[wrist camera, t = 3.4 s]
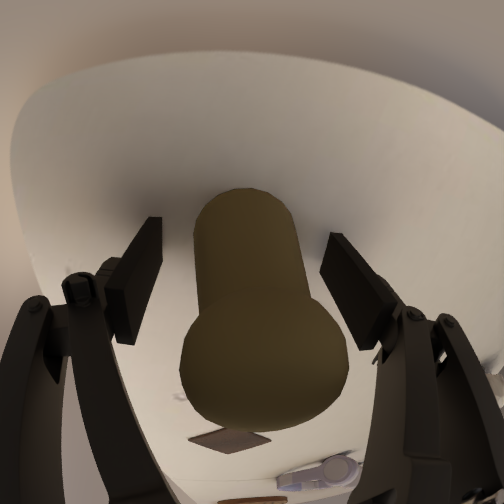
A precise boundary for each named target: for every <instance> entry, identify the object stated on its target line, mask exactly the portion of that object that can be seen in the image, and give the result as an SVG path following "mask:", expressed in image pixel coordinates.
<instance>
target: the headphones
mask: <svg viewBox="0 0 504 504" xmlns="http://www.w3.org/2000/svg"><path fill="white" fill-rule="evenodd" d="M362 468H363V467H361V466H359V465H358V463H357V462H356V461H355V460H354V459H351V458H349V457H346V456H344V455H334V456H332V457H329V458H328V459H326V460H325V461H324V462H323V463H322V464H321V465H320V466H318V467H315V468H311V469H306V470H301V471H297V472H292V473H288V474H284V475H282V476H279V477H278V478H277V489H278V490H281V491H307V490H317V489H324V488H330V487H341V486H342V487H343V488H347V489H353V488H355V487H356V486H357V484H358V483H359V480H360V477H361V472H362ZM311 480H317V481H311ZM306 481H307V482H306Z"/></svg>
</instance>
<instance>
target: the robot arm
mask: <svg viewBox="0 0 504 504" xmlns="http://www.w3.org/2000/svg"><path fill="white" fill-rule="evenodd" d="M162 262H163V254H162V217H151V216H149V217H148V218H147V220H146V221H145V223H144V224H143V225H142V227H141V228H140V230H139V231H138V233H137V234H136V236H135V237H134V239H133V240H132V242H131V243H130V245H129V247H128V248H127V250H126V251H125V253H124V254H123V256H122V258H118V257H111V258H109V259H108V260H106V261H105V262H103V264H102V265H101V267H100V268H99V270H98V271H97V273H96V275H95V276H94V275H92V274H91V273H88V272H77V273H74V274H71V275H69V276H68V277H66V278H65V279H64V280H63V282H62V285H61V286H62V289H63V293H64V296H65V300H66V303H67V304H64V305H54V306H51V305H50V302H49V300H48V298H47V297H45V296H41V295H38V296H32V297H30V298H28V299H27V300H26V301H25V302H24V303H23V305H22V306H21V308H20V310H19V313H18V315H17V318H16V320H15V322H14V325H13V327H12V330H11V333H10V335H9V338H8V340H7V343H6V346H5V349H4V352H3V355H2V358H1V362H0V504H65V498H64V489H63V478H62V459H61V427H62V407H63V395H64V385H65V377H66V369H67V362H68V356H71V359H72V366H73V373H74V378H75V385H76V390H77V395H78V400H79V404H80V409H81V414H82V418H83V422H84V425H85V429H86V433H87V436H88V440H89V443H90V446H91V449H92V453H93V455H94V459H95V461H96V464H97V467H98V470H99V472H100V475H101V478H102V480H103V482H104V485H105V487H106V490H107V492H108V495H109V504H181V503H180V502H179V500H178V499H177V497H176V495H175V494H174V492H173V490H172V489H171V487H170V485H169V483H168V482H167V480H166V478H165V476H164V475H163V473H162V471H161V469H160V467H159V465H158V463H157V461H156V459H155V457H154V455H153V453H152V451H151V449H150V447H149V445H148V442H147V440H146V438H145V436H144V434H143V431H142V429H141V427H140V424H139V422H138V419H137V417H136V414H135V412H134V409H133V407H132V404H131V402H130V399H129V396H128V393H127V391H126V388H125V385H124V382H123V379H122V376H121V373H120V370H119V366H118V363H117V360H116V356H115V353H114V349H113V346H112V343H111V341H112V338H113V335H114V334H115V338H116V341H117V343H120V344H127V345H135V342H136V339H137V335H138V332H139V329H140V326H141V323H142V319H143V316H144V313H145V310H146V307H147V304H148V301H149V298H150V295H151V292H152V290H153V287H154V284H155V281H156V278H157V275H158V273H159V270H160V267H161V265H162ZM319 273H320V275H321V276H322V278H323V280H324V282H325V284H326V286H327V288H328V290H329V291H330V293H331V295H332V297H333V299H334V301H335V303H336V305H337V307H338V309H339V311H340V313H341V315H342V317H343V318H344V320H345V322H346V324H347V326H348V328H349V330H350V332H351V334H352V336H353V338H354V341H355V343H356V345H357V347H358V349H359V351H363V350H372V349H374V347H375V345H376V344H377V342H378V340H379V341H380V343H381V345H382V346H381V348H380V350H379V352H378V353H377V355H376V356H375V358H374V360H373V362H372V364H373V365H374V363H375V362H376V361H377V360H378V364H377V378H376V389H375V398H374V406H373V414H372V420H371V427H370V433H369V439H368V444H367V449H366V454H365V459H364V464H363V468H362V472H361V477H360V480H359V483H358V484H357V486H356V487H355V489H354V490H353V491H352V493H351V495H350V497H349V500H348V502H347V504H504V419H503V416H502V413H501V410H500V408H499V405H498V403H497V400H496V398H495V395H494V393H493V390H492V388H491V386H490V383H489V381H488V379H487V377H486V374H485V372H484V370H483V368H482V366H481V364H480V362H479V360H478V358H477V356H476V354H475V352H474V350H473V348H472V346H471V344H470V342H469V341H468V339H467V337H466V335H465V333H464V331H463V330H462V328H461V326H460V324H459V323H458V321H457V320H456V319H455V318H454V317H453V316H450V315H449V314H445V313H441V314H440V315H439V316H438V318H437V319H436V321H431V320H427V319H426V317H425V315H424V314H423V313H422V312H421V311H420V310H419V309H417V308H415V307H412V306H406V305H405V304H404V303H403V301H402V300H401V299H400V297H399V296H398V295H397V294H396V292H394V290H393V289H392V287H391V286H390V285H389V284H388V282H387V281H386V280H385V279H384V278H382V277H381V276H380V275H377V274H376V273H375V272H374V271H373V270H372V268H371V267H370V266H369V265H368V263H367V262H366V261H365V260H364V259H363V257H362V256H361V255H360V254H359V253H358V251H357V250H356V249H355V248H354V247H353V246H352V244H351V243H350V242H349V241H348V240H347V239H346V237H345V236H344V235H343V234H342V233H334V232H330V236H329V239H328V243H327V247H326V250H325V254H324V257H323V261H322V264H321V268H320V271H319ZM444 352H446V355H447V357H446V358H445V359H444V361H443V362H442V363H441V362H440V360H439V359H440V357H441V356H442V355H443V353H444Z"/></svg>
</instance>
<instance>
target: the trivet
mask: <svg viewBox="0 0 504 504" xmlns="http://www.w3.org/2000/svg"><path fill="white" fill-rule="evenodd" d="M287 502H288V501H287V497H282V496H274V497H255V498H242V499H231V500H223V501H219V502H218V504H284V503H287Z"/></svg>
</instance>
